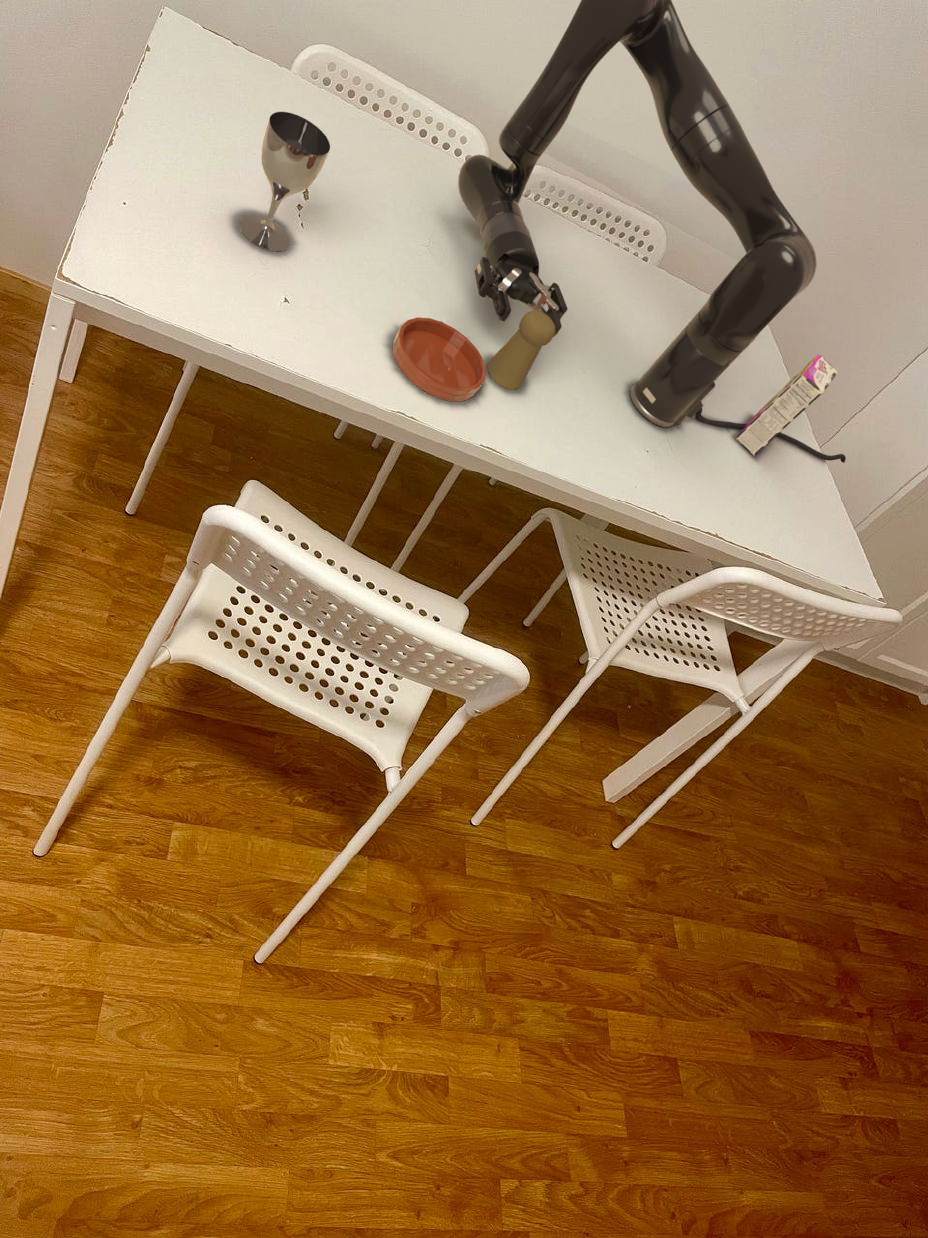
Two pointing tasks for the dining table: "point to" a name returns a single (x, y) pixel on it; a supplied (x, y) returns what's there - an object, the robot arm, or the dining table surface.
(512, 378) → the brown game pawn
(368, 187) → the dining table surface
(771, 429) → the candy bar box
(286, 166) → the silver goblet
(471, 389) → the dish
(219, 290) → the dining table surface
